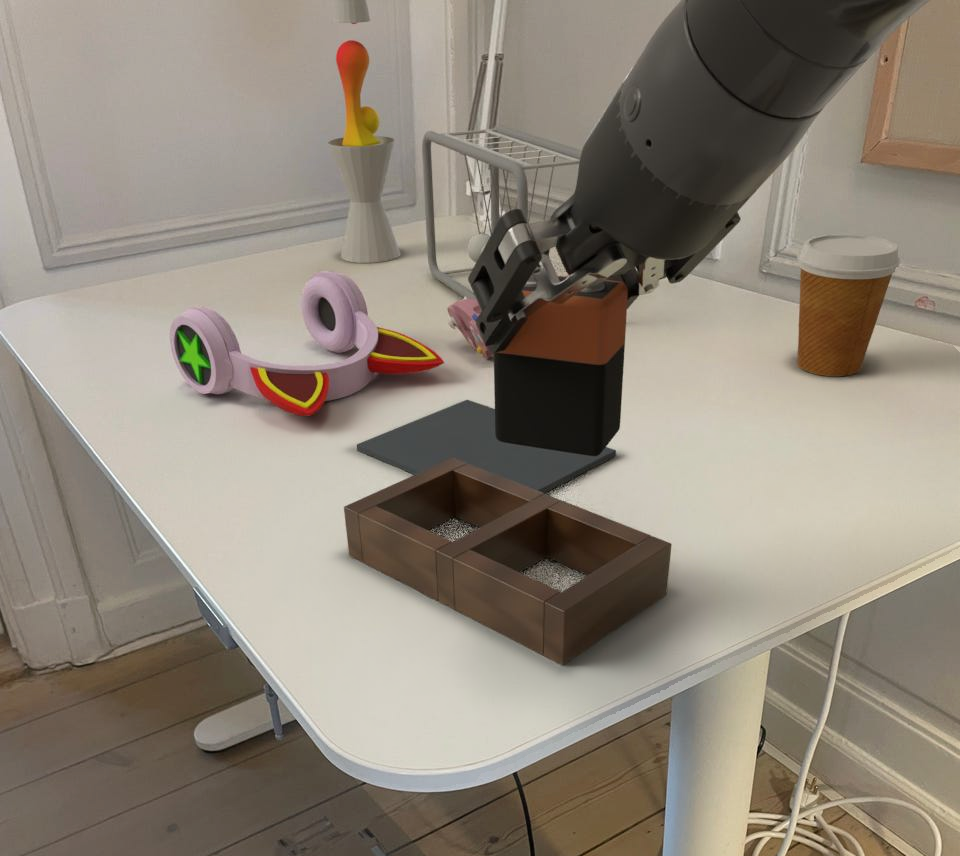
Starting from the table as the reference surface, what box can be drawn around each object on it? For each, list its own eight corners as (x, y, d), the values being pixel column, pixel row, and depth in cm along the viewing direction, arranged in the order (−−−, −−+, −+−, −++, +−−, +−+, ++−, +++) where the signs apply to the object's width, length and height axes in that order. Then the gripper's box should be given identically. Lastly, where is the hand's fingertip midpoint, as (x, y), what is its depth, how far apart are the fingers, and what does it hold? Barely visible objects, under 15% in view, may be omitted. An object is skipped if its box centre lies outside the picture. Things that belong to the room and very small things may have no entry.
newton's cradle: (427, 274, 135) (419, 128, 125) (497, 265, 138) (496, 122, 128) (519, 338, 112) (519, 166, 102) (601, 325, 116) (609, 157, 105)
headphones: (313, 266, 110) (441, 272, 97) (330, 356, 114) (454, 373, 102) (157, 308, 98) (280, 322, 85) (184, 406, 103) (303, 432, 90)
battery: (599, 460, 58) (607, 285, 52) (492, 443, 61) (489, 274, 55) (621, 432, 61) (631, 264, 56) (519, 417, 64) (518, 254, 58)
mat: (615, 456, 86) (616, 450, 86) (506, 513, 78) (506, 506, 78) (467, 405, 96) (467, 399, 96) (356, 450, 88) (356, 444, 88)
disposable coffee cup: (776, 349, 107) (794, 232, 101) (868, 351, 106) (892, 233, 99) (786, 381, 100) (806, 256, 93) (885, 383, 99) (912, 257, 92)
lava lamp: (375, 266, 139) (351, -36, 119) (326, 258, 144) (294, -35, 124) (414, 251, 146) (397, -38, 126) (365, 244, 150) (341, -37, 130)
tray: (667, 594, 68) (672, 543, 65) (562, 666, 61) (564, 611, 59) (454, 503, 79) (452, 457, 77) (348, 555, 73) (343, 506, 71)
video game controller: (462, 354, 113) (433, 302, 108) (494, 330, 113) (467, 277, 109) (497, 382, 106) (468, 327, 101) (532, 357, 106) (505, 301, 101)
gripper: (601, 223, 40) (464, 410, 55) (851, 179, 46) (666, 358, 61) (528, 63, 41) (412, 290, 56) (783, 40, 47) (617, 250, 62)
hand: (545, 325), depth 58 cm, fingers closed on battery, 7 cm apart
